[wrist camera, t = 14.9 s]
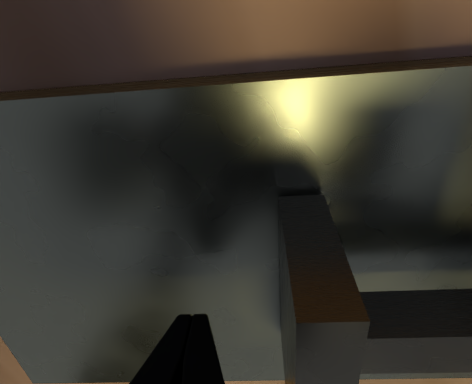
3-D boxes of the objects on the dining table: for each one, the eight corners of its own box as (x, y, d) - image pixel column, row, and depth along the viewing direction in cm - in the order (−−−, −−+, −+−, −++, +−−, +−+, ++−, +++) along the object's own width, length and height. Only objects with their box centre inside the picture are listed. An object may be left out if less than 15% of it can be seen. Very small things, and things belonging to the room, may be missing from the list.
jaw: (281, 370, 13) (293, 505, 10) (277, 125, 8) (298, 226, 5) (531, 366, 12) (638, 510, 9) (699, 97, 7) (1091, 191, 4)
